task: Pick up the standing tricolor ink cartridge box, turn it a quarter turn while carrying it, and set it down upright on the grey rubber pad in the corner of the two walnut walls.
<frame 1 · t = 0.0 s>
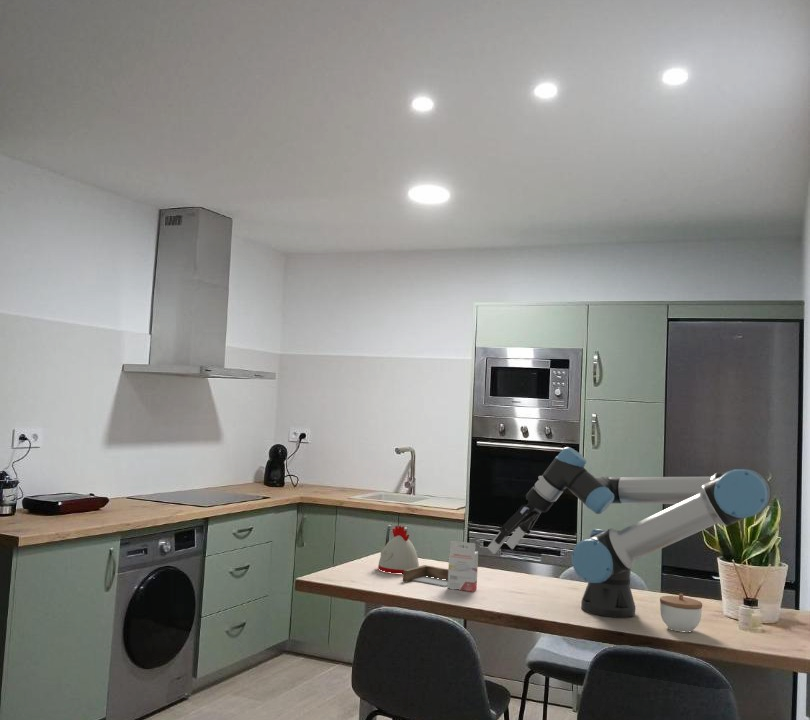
hand: (500, 548, 224), 15 cm above the countertop, tool tilted 35°, fingers open, 13 cm apart
corner walls: (433, 580, 246), on the countertop
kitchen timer: (398, 571, 260), on the countertop
ink cartridge box: (461, 589, 237), on the countertop
lidded jar: (679, 630, 204), on the countertop
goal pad: (435, 581, 245), on the countertop
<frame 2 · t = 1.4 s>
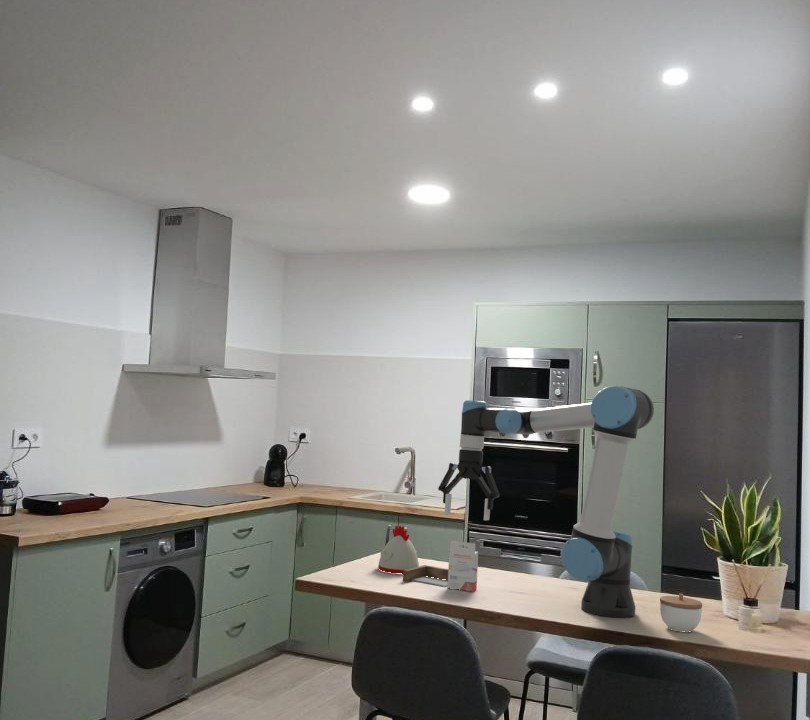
hand: (466, 517, 238), 22 cm above the countertop, tool pointing down, fingers open, 13 cm apart
nothing on the countertop moved.
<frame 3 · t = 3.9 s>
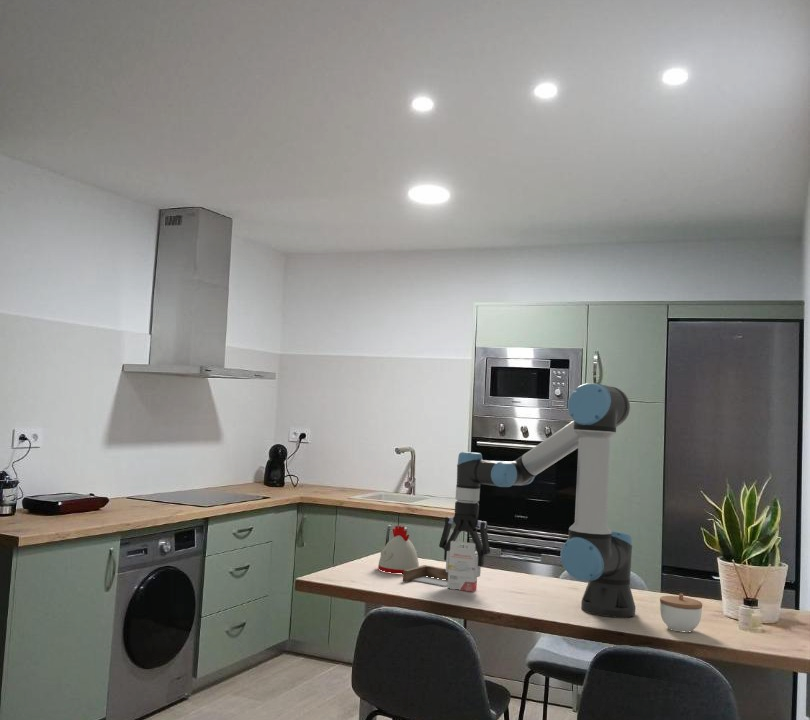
hand: (462, 574, 237), 5 cm above the countertop, tool pointing down, fingers closed on ink cartridge box, 9 cm apart
ink cartridge box: (461, 589, 237), on the countertop, touching gripper
everything else where it was.
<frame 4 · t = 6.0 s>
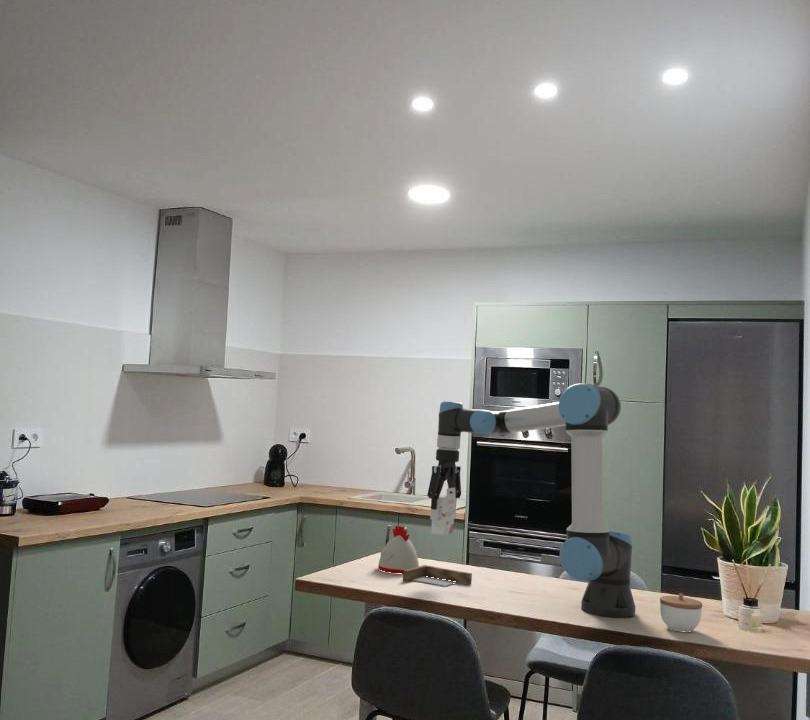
hand: (442, 518, 245), 20 cm above the countertop, tool pointing down, fingers closed on ink cartridge box, 9 cm apart
ink cartridge box: (441, 533, 245), point 16 cm above the countertop, touching gripper
everything else where it was.
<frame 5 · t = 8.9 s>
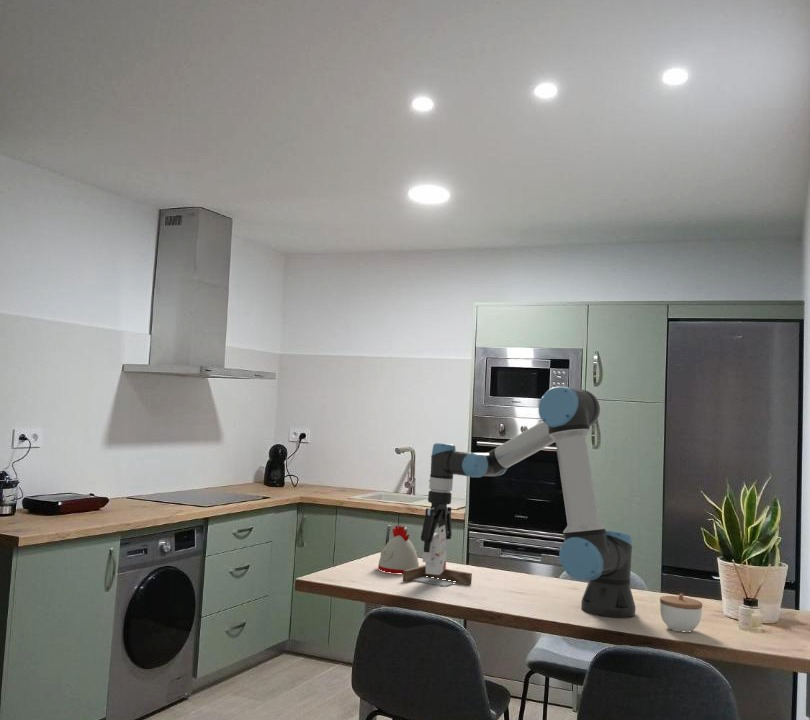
hand: (434, 560, 245), 7 cm above the countertop, tool pointing down, fingers closed on ink cartridge box, 10 cm apart
ink cartridge box: (435, 572, 245), point 3 cm above the countertop, touching corner walls, gripper
everything else where it was.
when the fingers open (7 cm above the countertop, at t = 9.7 s): ink cartridge box stays where it is, resting on corner walls.
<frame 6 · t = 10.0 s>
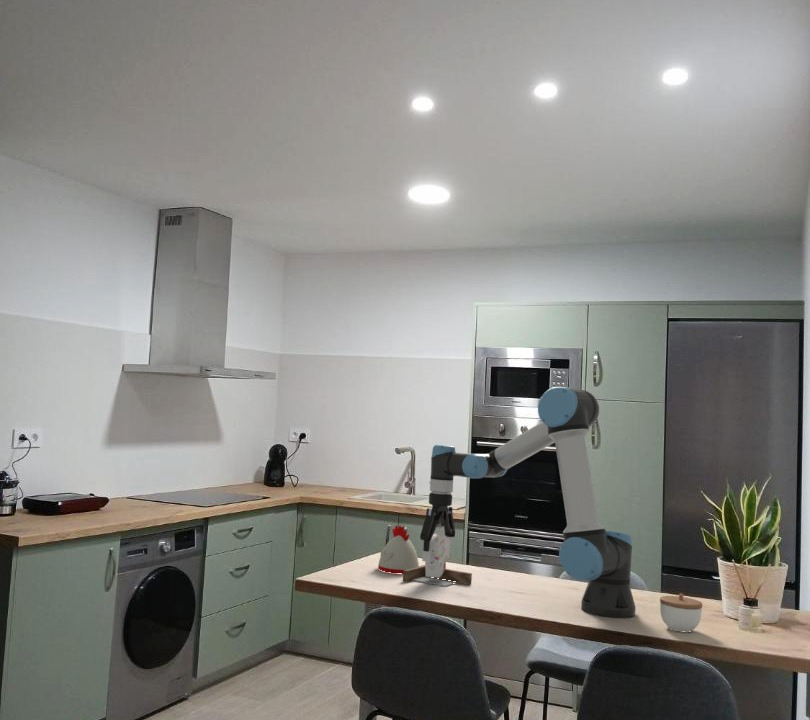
hand: (436, 559, 245), 7 cm above the countertop, tool pointing down, fingers open, 13 cm apart
ink cartridge box: (435, 573, 245), point 3 cm above the countertop, touching corner walls, gripper
everything else where it was.
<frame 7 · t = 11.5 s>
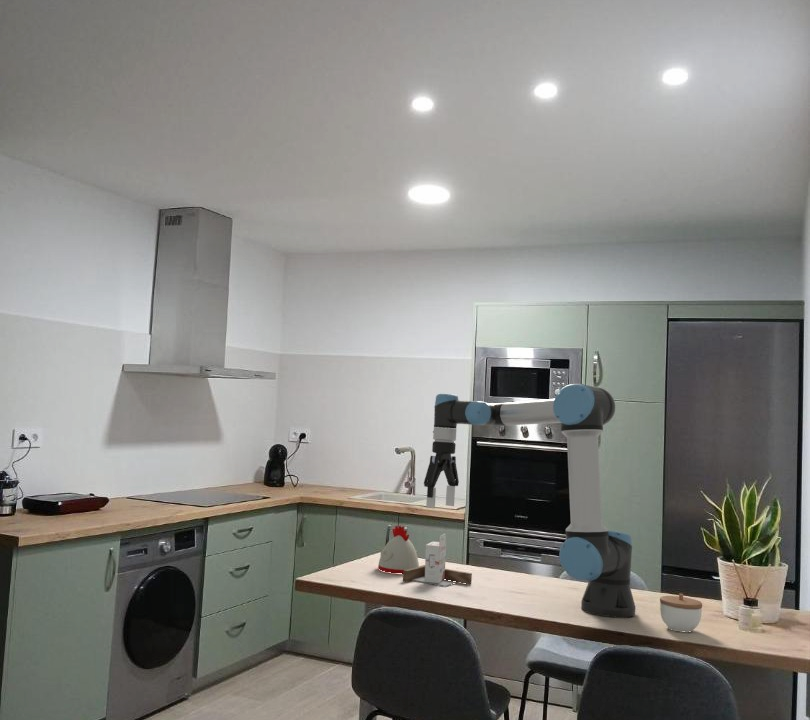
hand: (440, 506, 247), 24 cm above the countertop, tool pointing down, fingers open, 13 cm apart
ink cartridge box: (434, 581, 245), resting on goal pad
everything else where it was.
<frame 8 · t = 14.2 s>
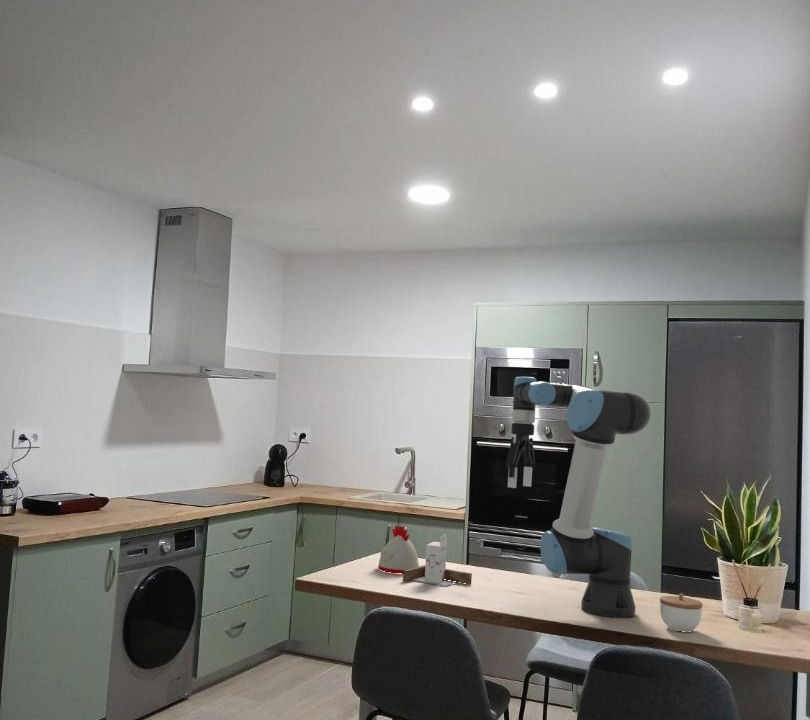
hand: (519, 487, 253), 32 cm above the countertop, tool pointing down, fingers open, 13 cm apart
nothing on the countertop moved.
at the end: ink cartridge box 0.3 cm from the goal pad (horizontally); ink cartridge box tilted 0°; the gripper is holding nothing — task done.
